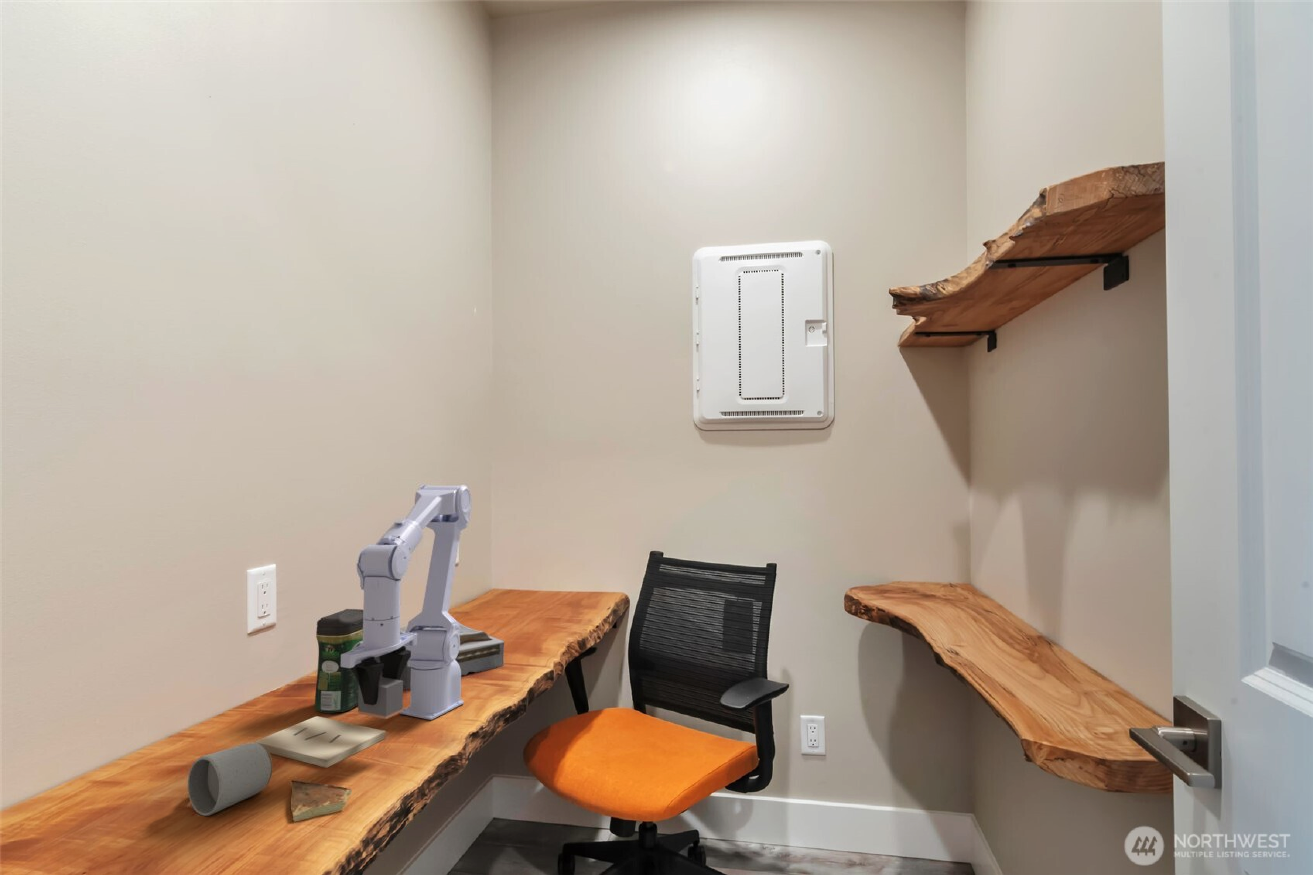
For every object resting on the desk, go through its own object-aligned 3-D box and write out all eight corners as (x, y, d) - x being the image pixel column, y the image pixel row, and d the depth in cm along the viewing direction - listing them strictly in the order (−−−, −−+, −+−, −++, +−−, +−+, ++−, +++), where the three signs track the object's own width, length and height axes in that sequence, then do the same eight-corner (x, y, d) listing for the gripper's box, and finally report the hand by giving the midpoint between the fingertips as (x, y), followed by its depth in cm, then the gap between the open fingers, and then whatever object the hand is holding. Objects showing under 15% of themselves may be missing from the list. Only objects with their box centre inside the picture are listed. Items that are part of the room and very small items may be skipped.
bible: (367, 666, 154) (368, 624, 154) (478, 648, 169) (479, 610, 169) (388, 695, 134) (389, 647, 135) (511, 672, 149) (511, 629, 150)
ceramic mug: (276, 793, 93) (277, 739, 94) (218, 822, 86) (219, 763, 86) (230, 780, 98) (231, 728, 98) (171, 806, 90) (172, 750, 91)
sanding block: (375, 705, 109) (375, 676, 109) (402, 711, 107) (403, 680, 107) (358, 713, 106) (358, 682, 106) (386, 719, 104) (386, 687, 104)
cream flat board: (316, 722, 119) (316, 715, 119) (385, 738, 112) (385, 730, 112) (253, 748, 108) (254, 741, 108) (326, 767, 101) (326, 759, 101)
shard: (291, 790, 95) (291, 778, 95) (348, 778, 99) (348, 766, 99) (290, 826, 86) (290, 812, 86) (353, 811, 89) (353, 798, 90)
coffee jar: (338, 695, 133) (340, 605, 134) (373, 698, 132) (375, 606, 132) (305, 713, 123) (308, 615, 124) (343, 716, 122) (345, 617, 123)
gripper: (396, 605, 115) (394, 682, 115) (327, 624, 102) (325, 711, 101) (427, 609, 113) (425, 687, 112) (360, 628, 99) (358, 717, 99)
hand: (380, 699), depth 107 cm, fingers closed on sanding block, 4 cm apart
